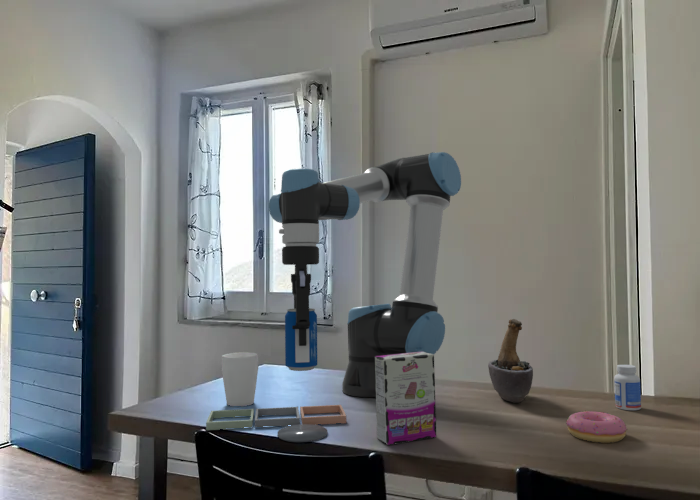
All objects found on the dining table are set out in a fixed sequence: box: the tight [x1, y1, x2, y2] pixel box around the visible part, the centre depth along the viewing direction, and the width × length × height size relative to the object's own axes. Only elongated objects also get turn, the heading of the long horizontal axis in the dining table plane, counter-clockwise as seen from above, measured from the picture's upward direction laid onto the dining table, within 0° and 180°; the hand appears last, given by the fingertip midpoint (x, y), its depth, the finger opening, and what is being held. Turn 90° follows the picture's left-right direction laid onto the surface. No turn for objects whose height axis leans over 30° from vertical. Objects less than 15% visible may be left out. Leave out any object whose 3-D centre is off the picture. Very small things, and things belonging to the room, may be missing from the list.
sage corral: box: [205, 408, 255, 431], centre depth 122 cm, size 10×10×2 cm
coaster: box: [277, 423, 328, 443], centre depth 113 cm, size 10×10×1 cm
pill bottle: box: [613, 364, 642, 411], centre depth 130 cm, size 6×5×10 cm
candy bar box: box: [375, 352, 437, 446], centre depth 110 cm, size 11×5×16 cm, turn 114°
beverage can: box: [284, 307, 318, 372], centre depth 114 cm, size 6×6×12 cm
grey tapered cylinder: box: [221, 351, 259, 407], centre depth 139 cm, size 9×9×12 cm
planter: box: [488, 318, 534, 404], centre depth 140 cm, size 15×17×20 cm
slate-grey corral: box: [254, 406, 301, 428], centre depth 123 cm, size 10×10×2 cm
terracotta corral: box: [299, 404, 347, 425], centre depth 125 cm, size 10×10×2 cm
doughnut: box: [565, 410, 628, 444], centre depth 110 cm, size 11×11×4 cm
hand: (301, 358), depth 114 cm, fingers closed on beverage can, 6 cm apart
